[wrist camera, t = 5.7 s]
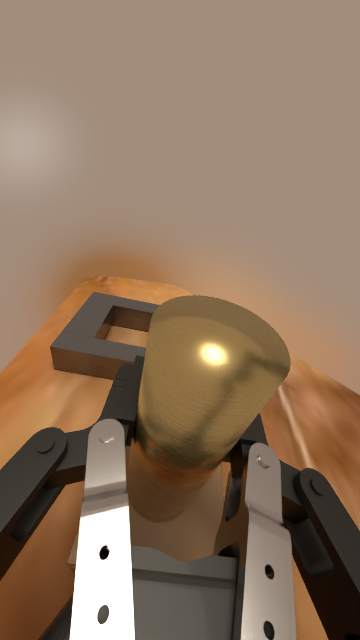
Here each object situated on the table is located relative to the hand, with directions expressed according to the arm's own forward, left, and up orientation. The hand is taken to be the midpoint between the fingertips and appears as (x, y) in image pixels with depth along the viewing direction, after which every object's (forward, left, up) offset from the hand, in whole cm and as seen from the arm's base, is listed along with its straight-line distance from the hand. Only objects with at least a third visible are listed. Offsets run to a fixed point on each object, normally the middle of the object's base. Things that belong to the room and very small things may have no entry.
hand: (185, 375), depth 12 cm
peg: (0, +3, -7) cm, 7 cm away
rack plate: (+1, -10, -9) cm, 13 cm away
